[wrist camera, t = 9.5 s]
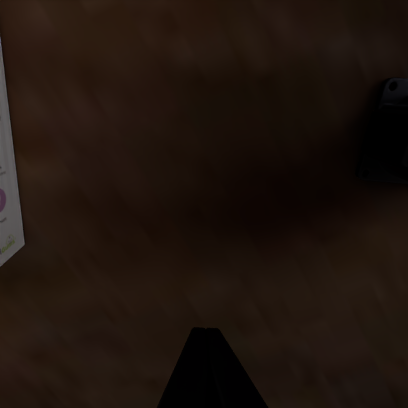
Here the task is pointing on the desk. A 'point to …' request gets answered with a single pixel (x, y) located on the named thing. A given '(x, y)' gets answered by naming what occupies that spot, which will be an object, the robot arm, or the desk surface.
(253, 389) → the robot arm
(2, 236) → the box
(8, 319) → the desk surface
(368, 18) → the desk surface
